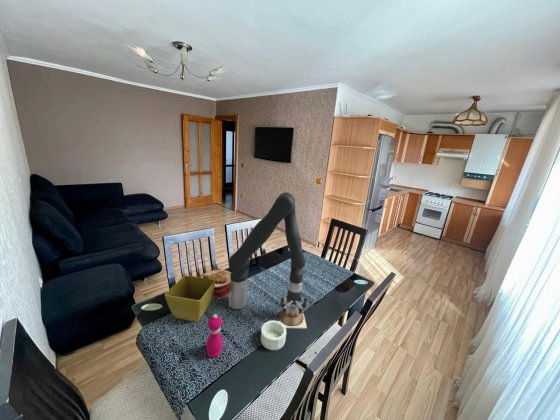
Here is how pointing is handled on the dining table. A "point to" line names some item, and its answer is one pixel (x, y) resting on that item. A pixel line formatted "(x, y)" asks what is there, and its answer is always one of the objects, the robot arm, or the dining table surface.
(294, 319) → the lid
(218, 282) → the plate with food
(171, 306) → the flower pot
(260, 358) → the dining table surface
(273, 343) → the bowl
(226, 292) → the hardcover book
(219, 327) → the pepper mill
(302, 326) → the mat
